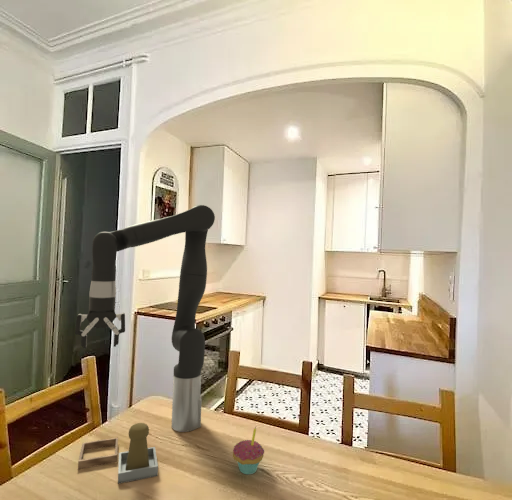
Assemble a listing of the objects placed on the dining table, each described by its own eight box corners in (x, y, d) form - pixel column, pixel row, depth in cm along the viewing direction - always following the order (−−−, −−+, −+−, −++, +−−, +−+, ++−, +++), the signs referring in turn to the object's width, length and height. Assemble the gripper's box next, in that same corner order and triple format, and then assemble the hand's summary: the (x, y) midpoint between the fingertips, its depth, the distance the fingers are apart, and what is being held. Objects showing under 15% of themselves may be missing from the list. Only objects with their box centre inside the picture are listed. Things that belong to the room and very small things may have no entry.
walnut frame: (117, 444, 102) (118, 437, 102) (116, 462, 93) (117, 454, 93) (82, 449, 98) (82, 442, 98) (77, 469, 89) (78, 461, 89)
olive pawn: (142, 475, 87) (143, 432, 87) (120, 472, 88) (122, 429, 88) (153, 461, 93) (154, 421, 93) (133, 458, 94) (134, 418, 94)
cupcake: (267, 464, 94) (268, 420, 94) (257, 482, 86) (258, 435, 86) (238, 457, 97) (240, 415, 97) (226, 474, 89) (228, 428, 89)
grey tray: (154, 455, 96) (155, 446, 96) (157, 476, 87) (158, 466, 88) (118, 461, 93) (118, 452, 93) (117, 483, 84) (118, 473, 84)
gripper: (126, 294, 112) (124, 342, 112) (78, 294, 107) (75, 345, 106) (127, 296, 105) (124, 348, 105) (75, 296, 100) (72, 351, 100)
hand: (100, 347), depth 106 cm, fingers open, 8 cm apart
